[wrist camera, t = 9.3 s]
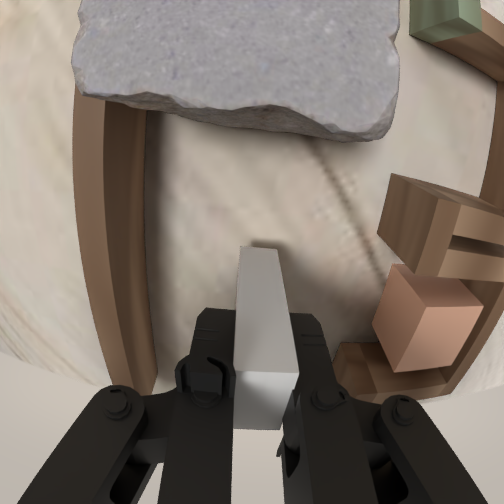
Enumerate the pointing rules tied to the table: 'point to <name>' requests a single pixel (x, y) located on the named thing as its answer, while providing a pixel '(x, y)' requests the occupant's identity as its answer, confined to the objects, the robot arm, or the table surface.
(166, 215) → the table surface
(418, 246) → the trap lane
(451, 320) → the cube
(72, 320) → the table surface
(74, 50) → the decorative stone
